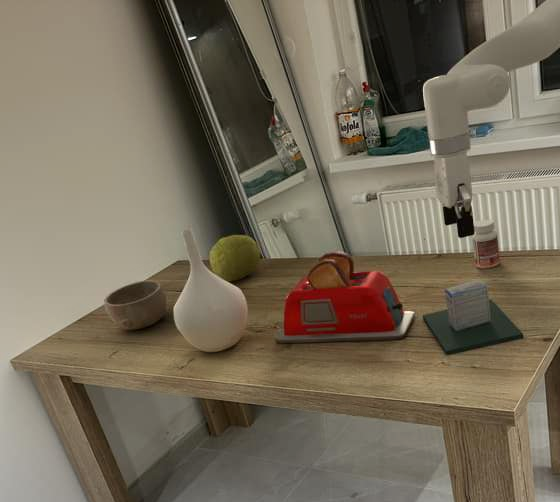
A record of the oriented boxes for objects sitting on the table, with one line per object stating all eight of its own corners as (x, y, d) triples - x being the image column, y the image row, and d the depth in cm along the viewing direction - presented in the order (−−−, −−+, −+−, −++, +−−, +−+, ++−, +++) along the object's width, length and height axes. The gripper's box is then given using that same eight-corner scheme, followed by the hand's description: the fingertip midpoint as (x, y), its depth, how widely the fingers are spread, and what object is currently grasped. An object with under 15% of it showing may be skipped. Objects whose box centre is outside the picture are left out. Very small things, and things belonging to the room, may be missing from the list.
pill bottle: (504, 262, 176) (501, 220, 171) (486, 270, 175) (482, 228, 170) (488, 258, 182) (484, 217, 177) (470, 266, 180) (466, 224, 175)
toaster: (416, 315, 160) (405, 239, 152) (404, 340, 150) (391, 260, 142) (292, 321, 174) (276, 251, 166) (274, 344, 164) (255, 271, 156)
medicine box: (482, 315, 150) (479, 278, 146) (491, 322, 146) (487, 285, 142) (448, 324, 150) (444, 288, 146) (456, 332, 146) (452, 295, 142)
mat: (491, 303, 157) (490, 299, 157) (523, 337, 139) (523, 333, 139) (423, 318, 158) (422, 315, 157) (446, 355, 140) (445, 351, 140)
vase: (230, 362, 161) (195, 242, 147) (171, 359, 170) (132, 246, 157) (268, 327, 174) (239, 214, 161) (211, 326, 184) (179, 220, 170)
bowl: (137, 340, 187) (125, 307, 183) (102, 332, 200) (90, 300, 195) (184, 313, 198) (173, 281, 193) (148, 307, 210) (137, 277, 205)
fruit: (232, 267, 226) (244, 225, 219) (262, 286, 218) (275, 243, 211) (196, 271, 214) (206, 226, 207) (225, 291, 207) (238, 245, 200)
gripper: (420, 142, 139) (430, 223, 147) (442, 156, 124) (452, 246, 131) (456, 133, 139) (464, 215, 146) (483, 146, 123) (491, 237, 131)
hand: (459, 229), depth 139 cm, fingers open, 9 cm apart
